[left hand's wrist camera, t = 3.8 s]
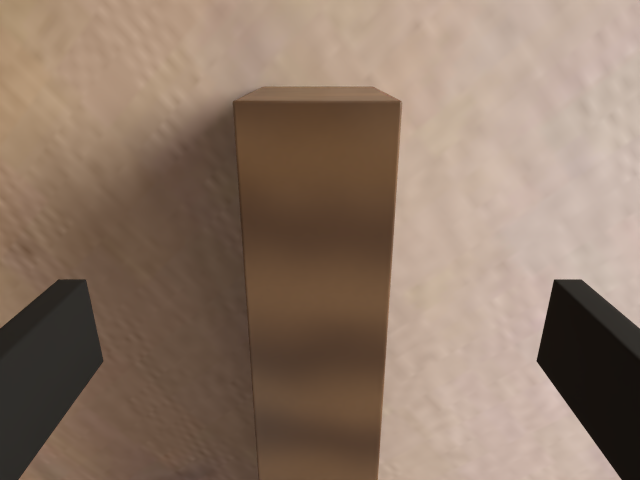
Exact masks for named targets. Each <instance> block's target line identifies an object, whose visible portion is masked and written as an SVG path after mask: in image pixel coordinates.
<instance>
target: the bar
mask: <svg viewBox="0 0 640 480" xmlns="http://www.w3.org/2000/svg"><path fill="white" fill-rule="evenodd" d="M401 112H402V102H401V101H400V100H398V99H396V98H394V97H392V96H390V95H388V94H386V93H384V92H382V91H380V90H378V89H376V88H375V87H262V88H260V89H258V90H256V91H254V92H252V93H250V94H248V95H245V96H243V97H241V98H239V99H237V100H235V101H233V113H234V128H235V142H236V157H237V171H238V186H239V200H240V215H241V229H242V244H243V258H244V273H245V287H246V302H247V316H248V331H249V346H250V360H251V375H252V389H253V404H254V418H255V433H256V447H257V462H258V476H259V480H378V467H379V451H380V436H381V421H382V405H383V390H384V374H385V359H386V343H387V328H388V313H389V297H390V282H391V266H392V251H393V235H394V220H395V205H396V189H397V174H398V158H399V143H400V127H401Z"/></svg>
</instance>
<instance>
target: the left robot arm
mask: <svg viewBox="0 0 640 480" xmlns="http://www.w3.org/2000/svg"><path fill="white" fill-rule="evenodd" d="M102 362H103V357H102V352H101V348H100V343H99V338H98V334H97V329H96V324H95V320H94V315H93V310H92V306H91V301H90V296H89V292H88V287H87V282H86V280H57V281H56V282H55V283H54V284H53V285H52V286H50V287H49V288H48V289H47V290H46V291H44V292H43V293H42V294H41V295H40V296H38V297H37V298H36V299H35V300H34V301H33V302H31V303H30V304H29V305H28V306H27V307H25V308H24V309H23V310H22V311H21V312H19V313H18V314H17V315H16V316H15V317H14V318H12V319H11V320H10V321H9V322H8V323H6V324H5V325H4V326H3V327H2V328H0V480H18V479H19V478H20V477H21V475H22V474H23V472H24V471H25V470H26V468H27V467H28V465H29V464H30V463H31V461H32V460H33V458H34V457H35V456H36V454H37V453H38V451H39V450H40V449H41V447H42V446H43V445H44V443H45V442H46V440H47V439H48V438H49V436H50V435H51V433H52V432H53V431H54V429H55V428H56V426H57V425H58V424H59V422H60V421H61V419H62V418H63V417H64V415H65V414H66V412H67V411H68V410H69V408H70V407H71V406H72V404H73V403H74V401H75V400H76V399H77V397H78V396H79V394H80V393H81V392H82V390H83V389H84V387H85V386H86V385H87V383H88V382H89V380H90V379H91V378H92V376H93V375H94V374H95V372H96V371H97V369H98V368H99V367H100V365H101V364H102ZM537 362H538V364H539V365H540V367H541V368H542V369H543V371H544V372H545V374H546V375H547V376H548V378H549V379H550V380H551V382H552V383H553V385H554V386H555V387H556V389H557V390H558V392H559V393H560V394H561V396H562V397H563V399H564V400H565V401H566V403H567V404H568V406H569V407H570V408H571V410H572V411H573V412H574V414H575V415H576V417H577V418H578V419H579V421H580V422H581V424H582V425H583V426H584V428H585V429H586V431H587V432H588V433H589V435H590V436H591V438H592V439H593V440H594V442H595V443H596V445H597V446H598V447H599V449H600V450H601V451H602V453H603V454H604V456H605V457H606V458H607V460H608V461H609V463H610V464H611V465H612V467H613V468H614V470H615V471H616V472H617V474H618V475H619V477H620V478H621V479H622V480H640V328H638V327H637V326H636V325H635V324H634V323H632V322H631V321H630V320H629V319H628V318H626V317H625V316H624V315H623V314H622V313H621V312H619V311H618V310H617V309H616V308H615V307H613V306H612V305H611V304H610V303H609V302H607V301H606V300H605V299H604V298H603V297H602V296H600V295H599V294H598V293H597V292H596V291H594V290H593V289H592V288H591V287H590V286H588V285H587V284H586V283H585V282H584V281H583V280H554V282H553V287H552V292H551V296H550V301H549V306H548V310H547V315H546V320H545V324H544V329H543V334H542V338H541V343H540V348H539V352H538V357H537Z"/></svg>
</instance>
